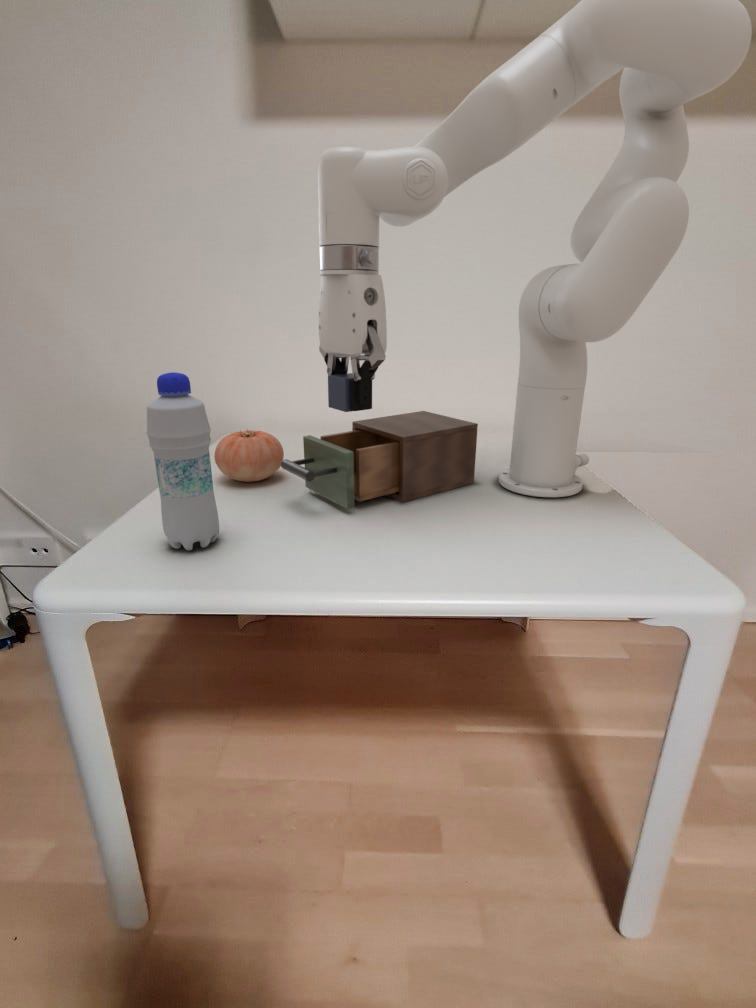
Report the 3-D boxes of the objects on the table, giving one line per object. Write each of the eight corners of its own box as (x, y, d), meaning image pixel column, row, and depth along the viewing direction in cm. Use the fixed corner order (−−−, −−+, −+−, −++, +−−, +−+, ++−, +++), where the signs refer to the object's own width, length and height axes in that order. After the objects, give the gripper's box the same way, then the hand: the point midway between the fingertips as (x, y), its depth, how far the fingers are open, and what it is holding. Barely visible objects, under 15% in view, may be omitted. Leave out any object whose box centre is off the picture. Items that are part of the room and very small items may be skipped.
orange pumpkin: (266, 492, 82) (262, 440, 79) (203, 485, 85) (197, 435, 82) (295, 471, 92) (293, 425, 89) (238, 466, 95) (234, 421, 92)
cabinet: (402, 502, 78) (403, 437, 75) (353, 480, 87) (352, 421, 84) (473, 483, 86) (477, 423, 83) (421, 464, 96) (423, 410, 92)
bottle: (201, 526, 70) (182, 367, 63) (234, 540, 66) (216, 372, 59) (152, 544, 65) (125, 373, 58) (184, 560, 61) (159, 378, 54)
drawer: (315, 517, 70) (313, 459, 68) (275, 493, 79) (272, 441, 76) (423, 489, 81) (424, 438, 78) (377, 471, 89) (377, 424, 86)
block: (354, 404, 78) (354, 372, 77) (372, 408, 75) (372, 376, 74) (328, 407, 76) (327, 375, 74) (345, 412, 73) (345, 378, 71)
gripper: (414, 262, 65) (410, 414, 71) (338, 267, 78) (340, 395, 84) (363, 259, 61) (363, 420, 67) (291, 265, 73) (297, 400, 80)
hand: (350, 405), depth 76 cm, fingers closed on block, 4 cm apart
